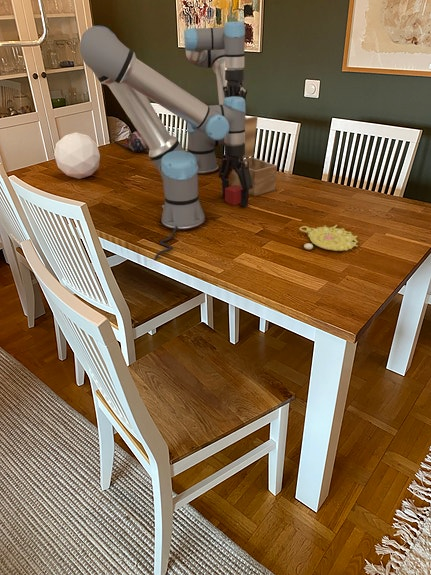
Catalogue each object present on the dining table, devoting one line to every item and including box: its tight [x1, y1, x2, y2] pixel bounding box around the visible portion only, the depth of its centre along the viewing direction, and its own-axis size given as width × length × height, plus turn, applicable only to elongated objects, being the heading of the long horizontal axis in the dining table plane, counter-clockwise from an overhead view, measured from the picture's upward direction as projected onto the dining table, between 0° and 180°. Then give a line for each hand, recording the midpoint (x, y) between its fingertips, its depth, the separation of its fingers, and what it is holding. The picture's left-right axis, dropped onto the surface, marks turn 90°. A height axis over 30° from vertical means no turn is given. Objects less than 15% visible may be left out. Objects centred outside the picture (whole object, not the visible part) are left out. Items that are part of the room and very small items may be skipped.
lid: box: [243, 116, 258, 159], centre depth 180 cm, size 16×11×8 cm
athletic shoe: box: [122, 130, 149, 153], centre depth 234 cm, size 11×22×12 cm
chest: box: [230, 156, 278, 197], centre depth 181 cm, size 15×11×10 cm
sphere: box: [53, 131, 101, 180], centre depth 196 cm, size 19×20×20 cm
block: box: [224, 185, 242, 206], centre depth 170 cm, size 5×5×5 cm
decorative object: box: [299, 224, 359, 252], centre depth 141 cm, size 21×2×20 cm
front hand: (235, 201), depth 171 cm, fingers open, 11 cm apart
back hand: (234, 132), depth 181 cm, fingers closed on lid, 1 cm apart
